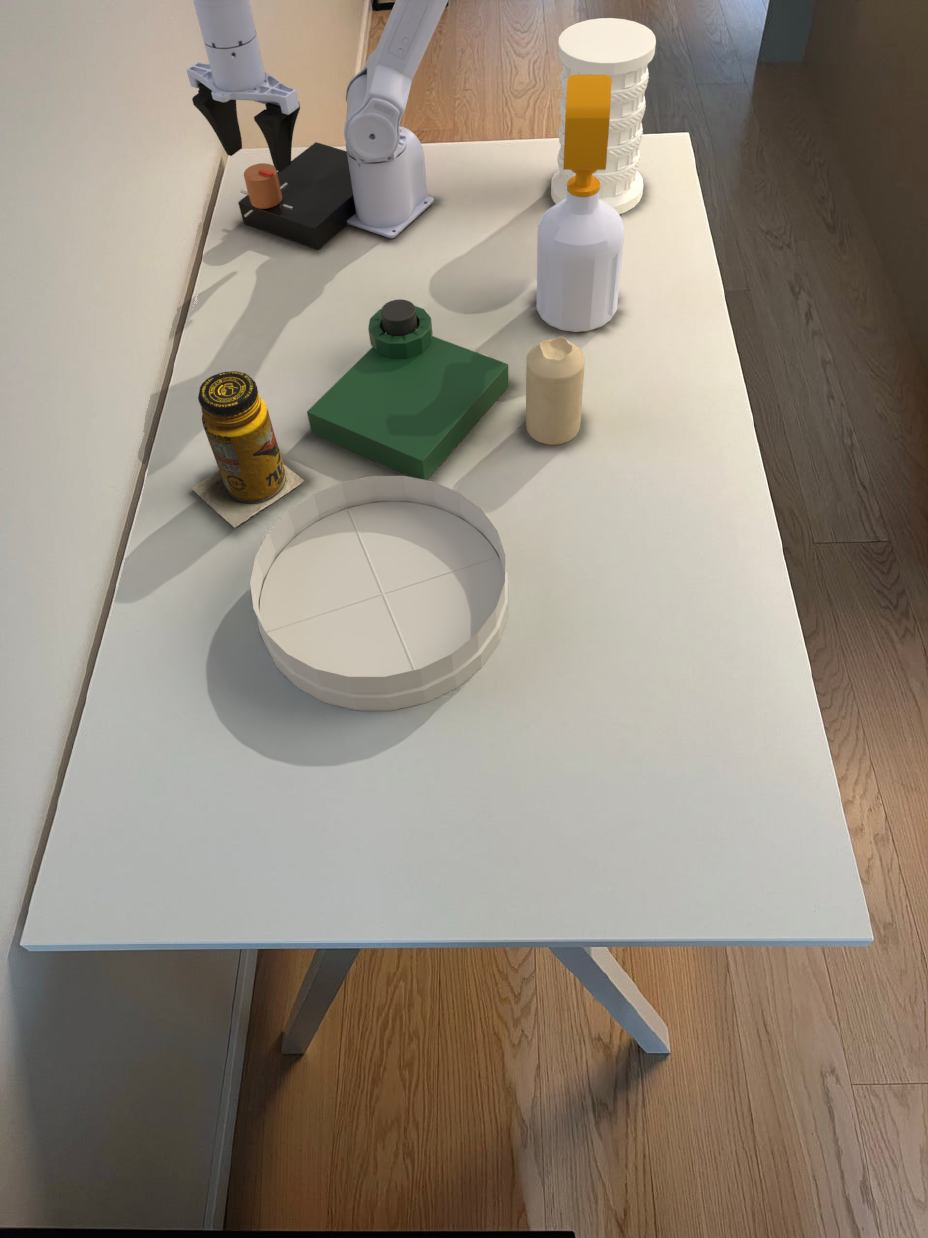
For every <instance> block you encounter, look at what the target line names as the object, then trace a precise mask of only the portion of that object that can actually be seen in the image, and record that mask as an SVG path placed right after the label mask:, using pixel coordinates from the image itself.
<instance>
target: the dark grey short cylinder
mask: <svg viewBox="0 0 928 1238" xmlns="http://www.w3.org/2000/svg"><path fill="white" fill-rule="evenodd" d="M415 306H416V305H415V304H414V303H413V302H412V301H409V300H407V299H400V298H399V299H394V300H390V301H388V302H386V303H385V304H384V305H382V307H381V308H380V309H381V317H382V324H383V329H384V331H385V333H386V334H388V335H391V336H405V335H408V334H410V333H413V332H414V331H415V330H416V328H417V318H416V309H415Z"/></svg>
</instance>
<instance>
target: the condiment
mask: <svg viewBox="0 0 928 1238" xmlns="http://www.w3.org/2000/svg"><path fill="white" fill-rule="evenodd" d="M197 400H198V403H199V405H200V409H201V414H202V415H201V424H202V427H203V430H204V432H205V435H206V437H207V439H208V440H207V441H208V443H209V446H210V448H211V451H212V454H213V457H214V459H215V463H216V465H217V468H218V470H217V471H216V472H215V473H213V474H211V475H210V476H209V477H207V478H205V479H202V480H201V481H199V482H198V483H196V484H195V485H193V486H192V487H191V489H192V491H194V492H195V493H196V494H197V495H198V496H199V497H200V498H201V499H202V500H203V501H204V502H205V503H206V504H207V505H208V506H209V507H211V508H212V510H214V511H215V512H216V513H217V514H218V515H220V517H222V519H224V520H225V522H228V524H230V525H231V527H233V528H234V529H235V528H237V527H238V526H240V525H241V524H242V523H244V522H247V521H248V520H249V519H250V518H251V517H254V516H255V515H257V513H259V512H260V511H262V510H264V509H265V508H268V506H270V505H272V504H273V503H275V502H277V501H278V500H280V499H281V498H282V497H284V496H285V495H287V494H288V493H290V492H292V490H294V489H296V488H297V487H298V486H300V485H301V484H302V483H304V481H305V480H304V479H303V478H302V477H300V476H299V475H298V474H297V473H296V472H294V471H293V470H292V469H290V468H289V467H288V466H287V465H285V464H284V461H283V458H282V453H281V451H280V447H279V444H278V442H277V438H276V434H275V431H274V428H273V423H272V420H271V416H270V413H269V410H268V406H267V403H266V402H265V401H264V399H263V398H262V397H261V395H260V393H259V390H258V385H257V383H256V381H255V380H254V379H253V378H252V377H251V376H249V374H247V373H245V372H241V371H237V370H234V371H233V370H231V371H230V370H229V371H222V372H219V373H216V374H213V375H211V376H209V377H208V378H206V379H205V380H204V381H203V382H202V383H201V385H200V386H199V390H198V397H197Z"/></svg>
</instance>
